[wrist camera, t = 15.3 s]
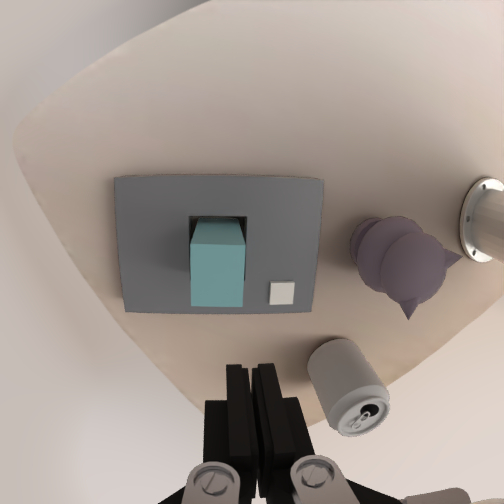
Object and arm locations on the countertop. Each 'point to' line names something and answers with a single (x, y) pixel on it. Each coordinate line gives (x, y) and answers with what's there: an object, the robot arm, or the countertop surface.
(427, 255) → the cat figurine
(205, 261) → the plug
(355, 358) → the can
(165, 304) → the socket
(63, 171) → the countertop surface
